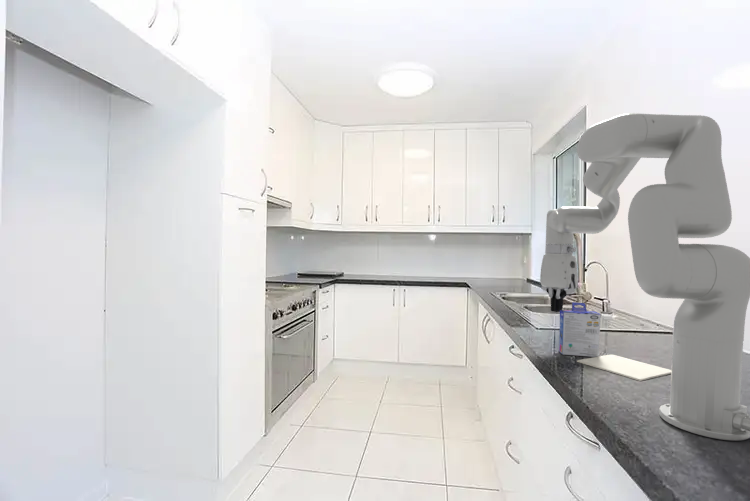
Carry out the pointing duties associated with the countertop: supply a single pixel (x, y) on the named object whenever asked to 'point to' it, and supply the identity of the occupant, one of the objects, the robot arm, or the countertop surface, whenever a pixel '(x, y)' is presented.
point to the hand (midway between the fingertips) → (556, 311)
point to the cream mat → (626, 367)
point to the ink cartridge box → (579, 331)
